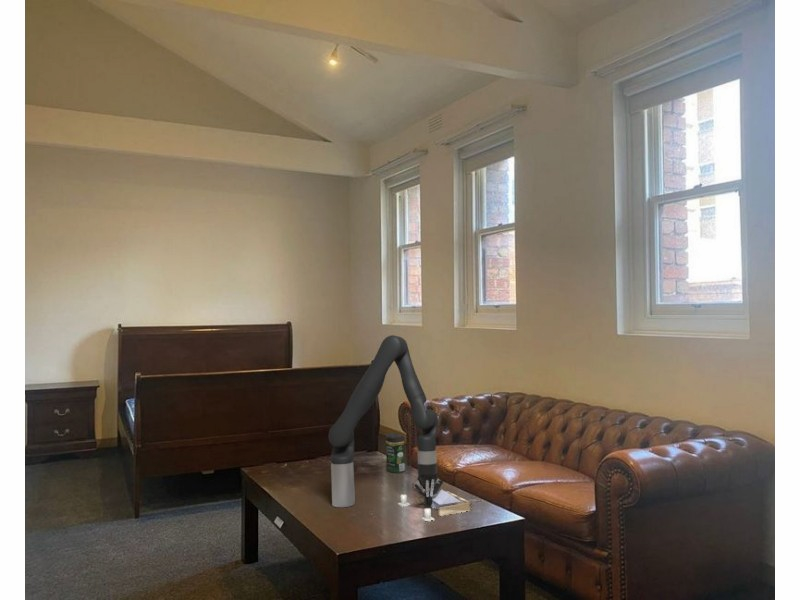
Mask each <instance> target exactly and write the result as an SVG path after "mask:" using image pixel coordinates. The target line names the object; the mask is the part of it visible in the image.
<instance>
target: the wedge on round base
mask: <svg viewBox="0 0 800 600" xmlns="http://www.w3.org/2000/svg"><path fill="white" fill-rule="evenodd" d="M445 491H446V490H443V488H439V490H438V492H437V494H435V495H433V496H432V504H431V507H432V508H431V507H430V508H431V509H434V508H435V509H434V510H438V508H440V507H446V506H451V505H454V504H455V502H461V501H459V500H458V499H456V498H455V497H453V496H452V495H450V494H449V493H447V492H445Z"/></svg>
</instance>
